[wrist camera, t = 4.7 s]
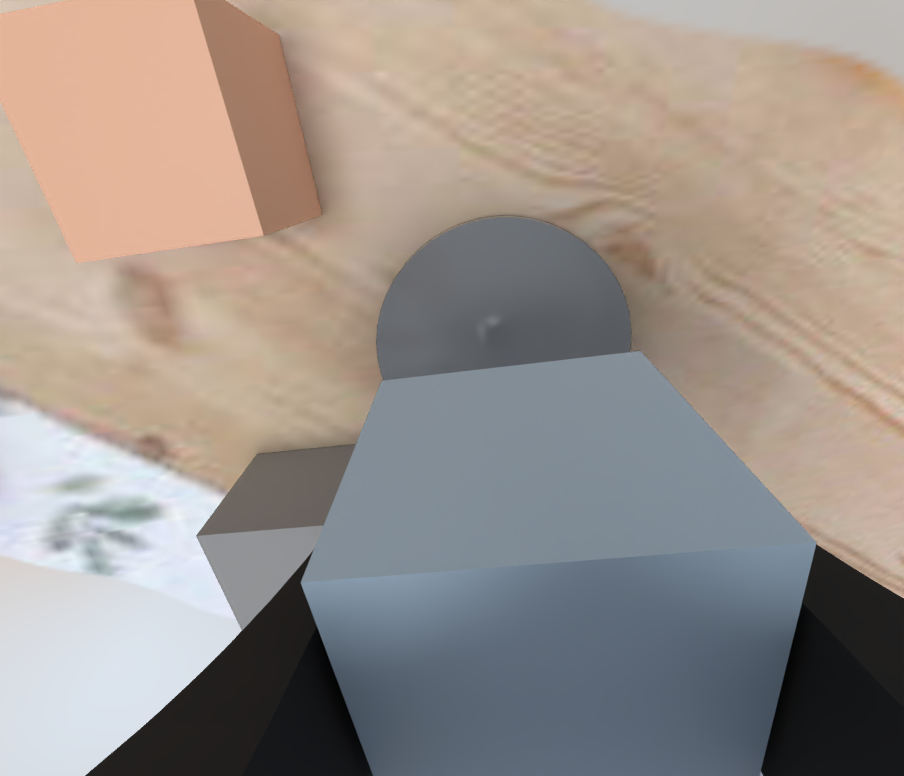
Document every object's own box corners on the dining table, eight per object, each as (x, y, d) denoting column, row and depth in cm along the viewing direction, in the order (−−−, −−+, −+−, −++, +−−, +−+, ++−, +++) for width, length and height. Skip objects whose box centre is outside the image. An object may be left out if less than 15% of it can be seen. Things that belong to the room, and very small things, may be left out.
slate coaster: (676, 290, 16) (685, 295, 16) (543, 477, 20) (545, 489, 19) (443, 164, 15) (442, 165, 14) (346, 390, 19) (340, 399, 18)
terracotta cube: (279, 35, 14) (186, -24, 9) (323, 214, 16) (263, 235, 12) (122, 65, 14) (-37, 21, 10) (184, 234, 16) (76, 263, 12)
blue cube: (640, 350, 9) (816, 542, 4) (634, 550, 11) (749, 818, 7) (381, 380, 9) (300, 582, 5) (422, 567, 11) (392, 829, 7)
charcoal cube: (370, 441, 20) (340, 523, 15) (393, 532, 22) (372, 628, 17) (257, 452, 20) (196, 536, 16) (290, 541, 22) (244, 636, 18)
